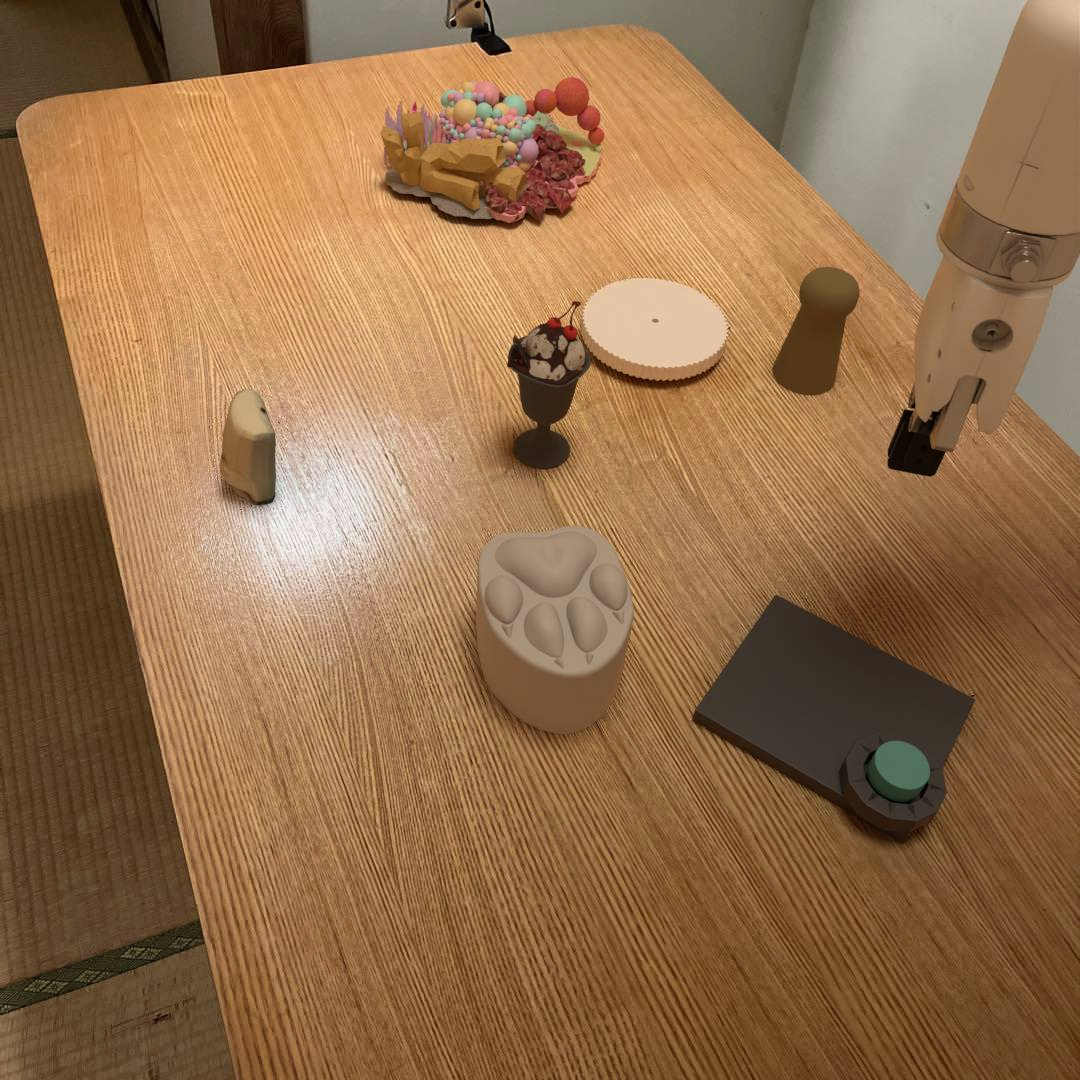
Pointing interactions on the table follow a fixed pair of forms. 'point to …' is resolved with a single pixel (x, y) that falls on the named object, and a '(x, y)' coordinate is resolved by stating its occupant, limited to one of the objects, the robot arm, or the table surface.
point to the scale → (833, 713)
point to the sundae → (547, 387)
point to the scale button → (898, 771)
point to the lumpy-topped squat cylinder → (553, 625)
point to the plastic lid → (654, 329)
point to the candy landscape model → (495, 151)
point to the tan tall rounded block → (249, 449)
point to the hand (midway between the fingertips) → (910, 464)
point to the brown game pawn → (817, 332)
